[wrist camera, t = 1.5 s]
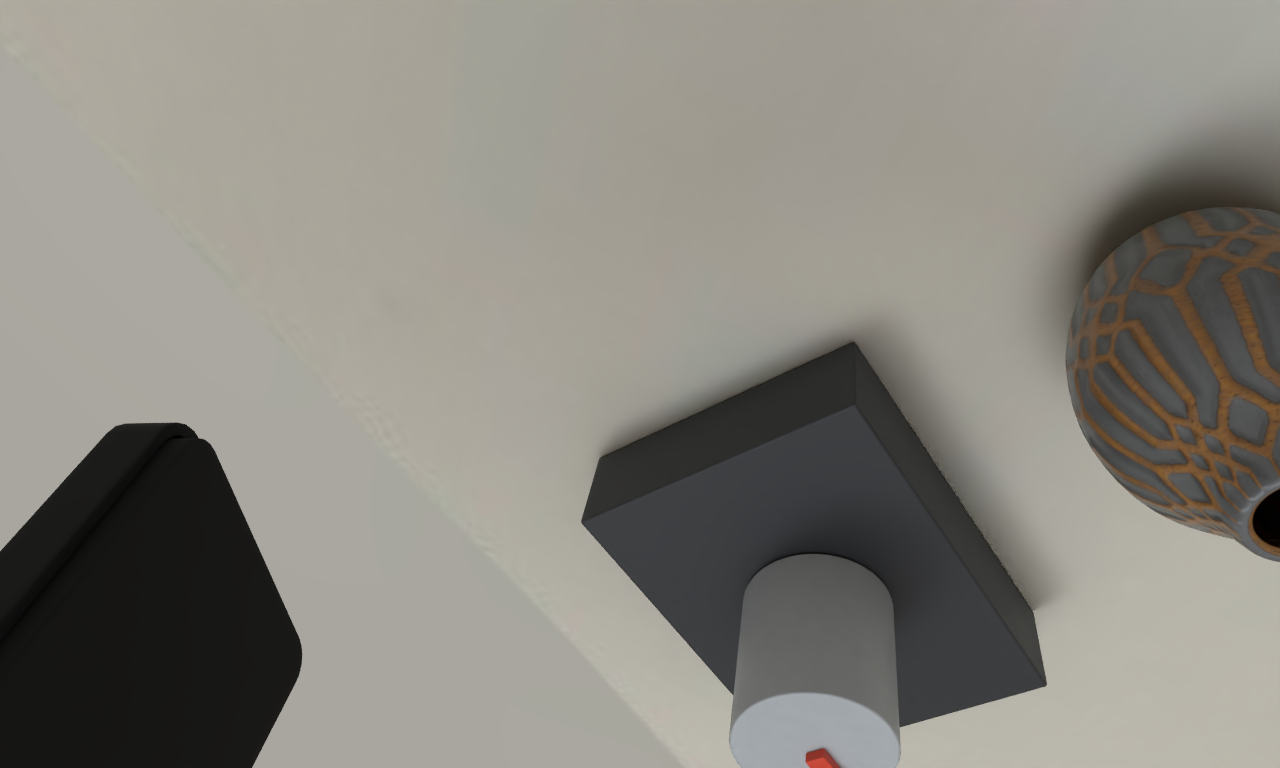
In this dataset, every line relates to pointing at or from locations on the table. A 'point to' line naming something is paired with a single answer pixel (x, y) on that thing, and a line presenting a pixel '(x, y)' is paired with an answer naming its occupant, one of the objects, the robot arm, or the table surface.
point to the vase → (1188, 371)
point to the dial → (816, 668)
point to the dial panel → (816, 530)
